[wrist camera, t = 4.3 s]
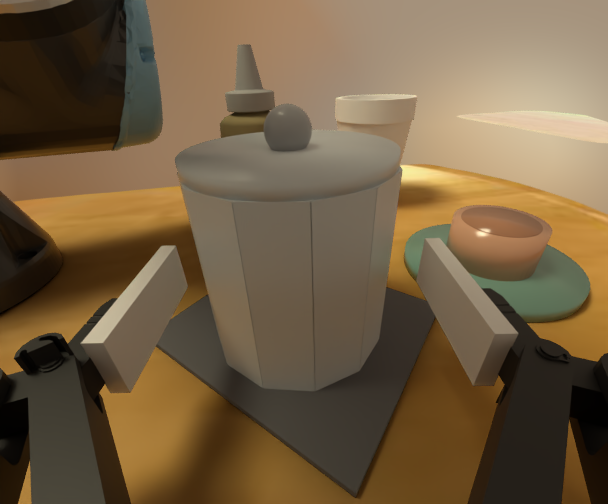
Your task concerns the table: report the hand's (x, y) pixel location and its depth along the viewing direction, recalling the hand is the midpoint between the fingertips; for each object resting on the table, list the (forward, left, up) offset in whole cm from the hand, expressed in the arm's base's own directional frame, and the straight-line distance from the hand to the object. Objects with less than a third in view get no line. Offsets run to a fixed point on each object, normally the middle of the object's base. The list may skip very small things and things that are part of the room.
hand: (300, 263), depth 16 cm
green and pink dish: (+8, +17, -7) cm, 20 cm away
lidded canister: (-2, +2, -6) cm, 7 cm away
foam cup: (-8, +27, -7) cm, 29 cm away
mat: (-2, +2, -7) cm, 7 cm away
